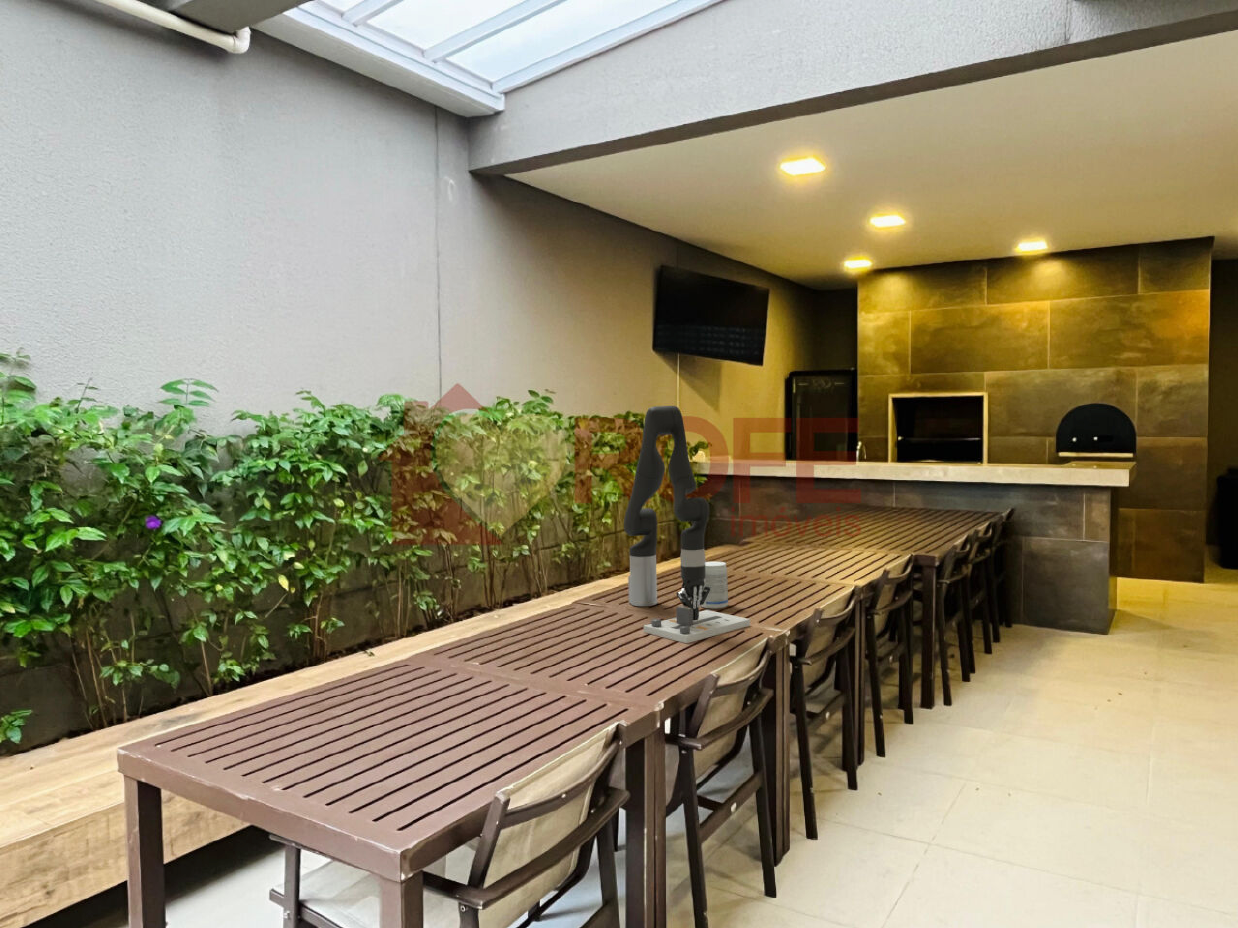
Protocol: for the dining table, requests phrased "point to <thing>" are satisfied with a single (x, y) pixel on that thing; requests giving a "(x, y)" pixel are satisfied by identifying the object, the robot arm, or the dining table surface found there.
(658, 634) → the console board
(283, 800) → the dining table surface
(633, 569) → the robot arm
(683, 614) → the fader tab
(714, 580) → the supplement tub
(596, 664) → the dining table surface
